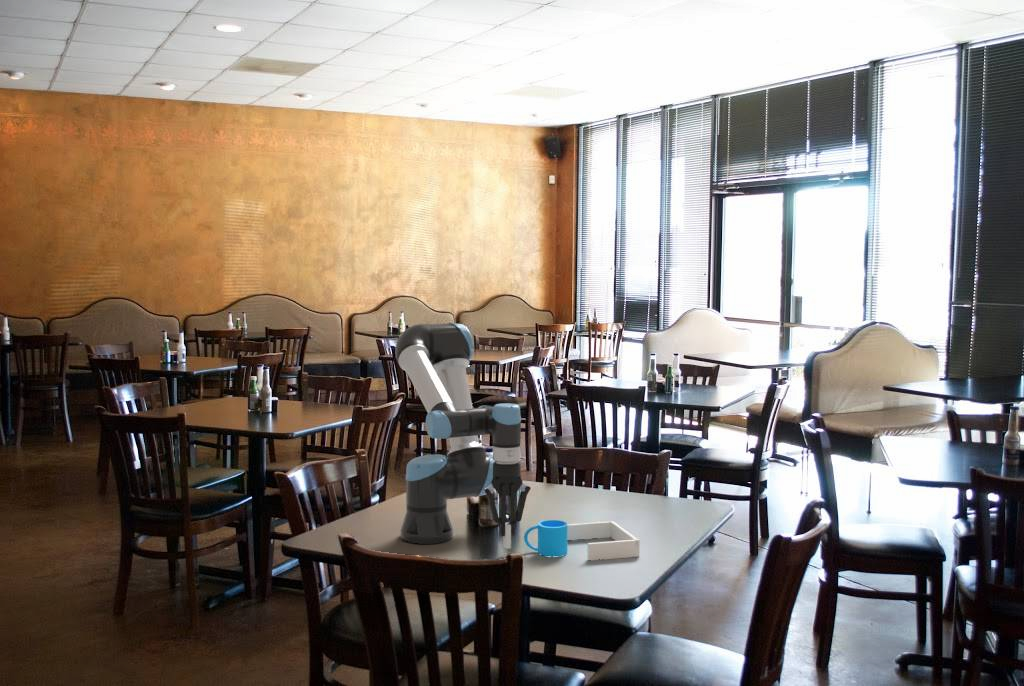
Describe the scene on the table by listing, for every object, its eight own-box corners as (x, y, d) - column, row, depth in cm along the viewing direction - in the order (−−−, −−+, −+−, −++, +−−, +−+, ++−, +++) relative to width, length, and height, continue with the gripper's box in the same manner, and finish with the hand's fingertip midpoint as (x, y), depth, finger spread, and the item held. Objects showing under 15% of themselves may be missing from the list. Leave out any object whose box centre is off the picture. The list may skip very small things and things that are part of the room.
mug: (568, 549, 266) (568, 520, 266) (566, 558, 258) (566, 528, 258) (525, 547, 268) (525, 518, 268) (521, 556, 260) (521, 526, 260)
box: (588, 560, 256) (588, 544, 256) (565, 539, 275) (565, 524, 275) (639, 556, 260) (639, 540, 259) (613, 536, 279) (613, 521, 279)
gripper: (486, 465, 253) (486, 553, 255) (533, 462, 256) (534, 549, 258) (480, 460, 260) (480, 545, 262) (526, 457, 264) (526, 541, 265)
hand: (507, 547), depth 260 cm, fingers closed
